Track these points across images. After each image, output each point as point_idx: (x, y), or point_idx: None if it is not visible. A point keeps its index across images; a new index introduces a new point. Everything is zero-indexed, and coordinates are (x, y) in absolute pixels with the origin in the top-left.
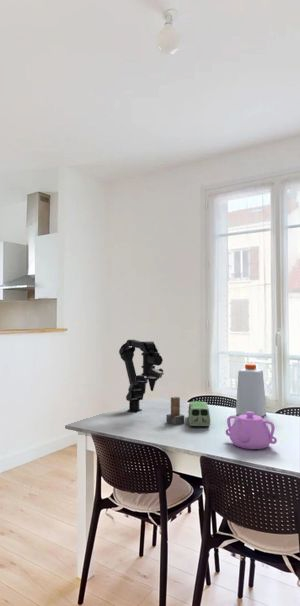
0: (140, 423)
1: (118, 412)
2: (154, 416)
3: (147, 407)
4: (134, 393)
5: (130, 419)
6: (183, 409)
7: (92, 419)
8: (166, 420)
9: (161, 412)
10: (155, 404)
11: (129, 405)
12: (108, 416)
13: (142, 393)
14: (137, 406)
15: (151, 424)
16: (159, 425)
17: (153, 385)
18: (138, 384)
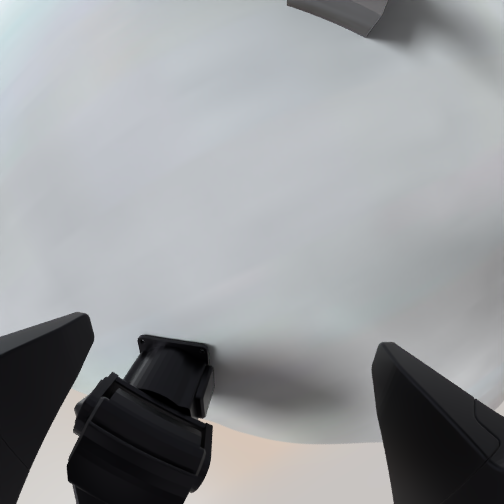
0: (459, 194)
1: (258, 416)
2: (245, 180)
3: None
4: (195, 457)
5: (394, 298)
6: (14, 121)
7: None
8: (368, 32)
9: (113, 192)
10: (17, 308)
11: (207, 408)
12: (359, 415)
13: (114, 407)
14: (174, 366)
15: (453, 118)
16: (447, 65)
17: (19, 354)
18: (104, 497)
